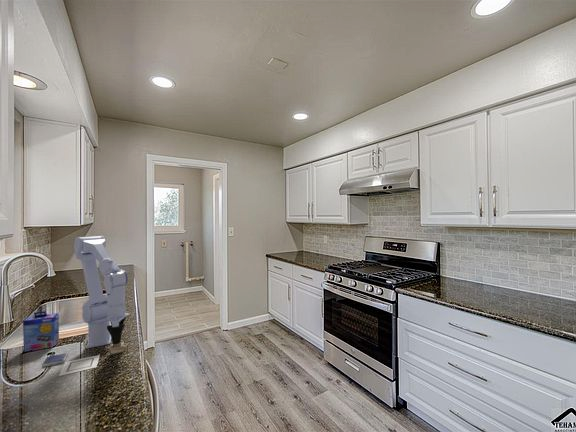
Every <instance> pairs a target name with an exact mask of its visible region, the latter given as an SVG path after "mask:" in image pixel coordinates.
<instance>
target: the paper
mask: <svg viewBox="0 0 576 432" xmlns="http://www.w3.org/2000/svg"><path fill="white" fill-rule="evenodd" d="M100 356H101V354H97V355H96V354H95V355H93V356H88V357H83V358H79V359H74V360H68V361H65V362H64V364H63V367H62V368H61V370H60V373H58V377H61V376H66V375H70V374H76V373H79V372H83V371H88V370H92V369H96V368H97V367H98V363H99V361H100Z"/></svg>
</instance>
